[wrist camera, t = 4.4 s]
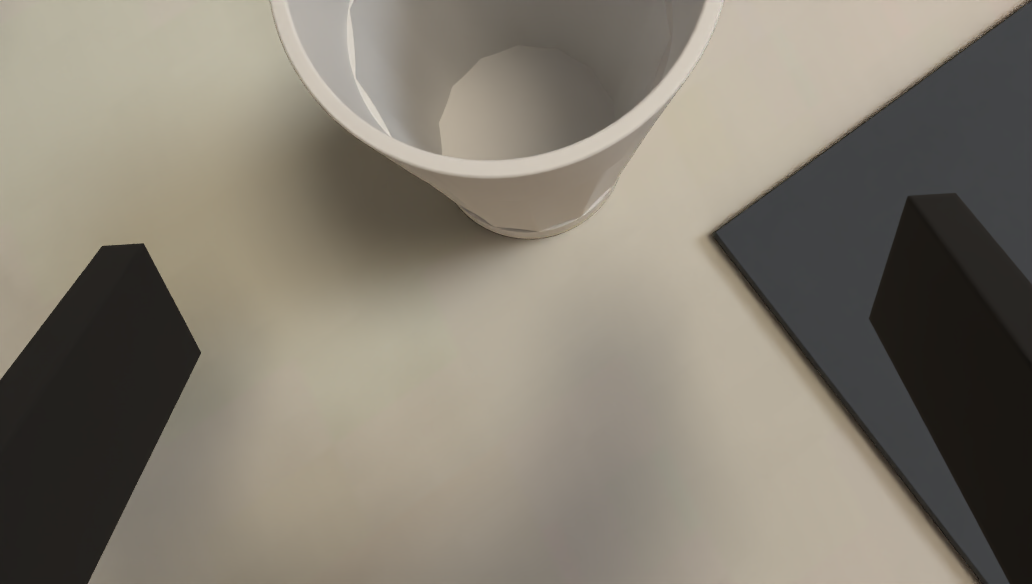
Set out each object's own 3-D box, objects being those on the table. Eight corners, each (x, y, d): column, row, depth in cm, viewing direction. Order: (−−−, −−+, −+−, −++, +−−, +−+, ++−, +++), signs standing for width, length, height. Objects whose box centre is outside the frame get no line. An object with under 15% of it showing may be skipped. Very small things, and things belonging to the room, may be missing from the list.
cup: (616, 5, 24) (663, -327, 12) (676, 230, 24) (788, 109, 12) (390, 65, 25) (224, -200, 13) (442, 288, 24) (318, 230, 12)
